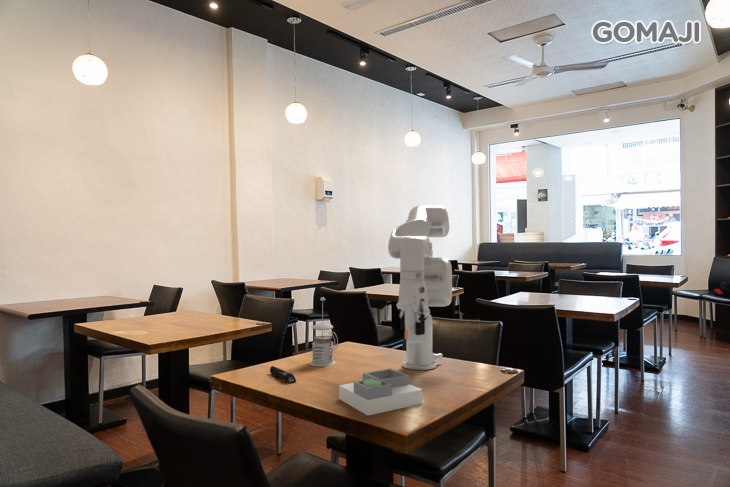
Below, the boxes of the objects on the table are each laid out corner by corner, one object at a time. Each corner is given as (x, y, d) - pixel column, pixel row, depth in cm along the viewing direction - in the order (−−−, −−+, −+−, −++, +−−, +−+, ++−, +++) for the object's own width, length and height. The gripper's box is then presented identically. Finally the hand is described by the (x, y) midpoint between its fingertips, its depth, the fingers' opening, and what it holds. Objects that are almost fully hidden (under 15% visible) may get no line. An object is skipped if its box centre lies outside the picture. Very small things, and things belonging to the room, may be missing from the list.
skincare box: (404, 339, 156) (404, 301, 155) (417, 338, 156) (417, 301, 156) (407, 343, 150) (407, 304, 149) (421, 343, 150) (421, 304, 150)
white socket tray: (390, 389, 150) (390, 366, 150) (422, 403, 137) (422, 378, 137) (339, 399, 141) (339, 374, 141) (367, 415, 127) (367, 389, 127)
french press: (321, 358, 190) (321, 295, 190) (344, 363, 184) (344, 297, 184) (304, 364, 182) (304, 297, 183) (327, 368, 176) (327, 299, 176)
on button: (375, 388, 136) (375, 378, 136) (385, 392, 132) (385, 383, 132) (360, 391, 134) (360, 381, 134) (369, 395, 129) (369, 385, 129)
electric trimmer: (277, 373, 171) (277, 364, 171) (297, 383, 158) (297, 373, 158) (267, 375, 169) (267, 366, 169) (286, 385, 156) (286, 375, 156)
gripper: (439, 277, 147) (439, 336, 147) (405, 273, 162) (406, 326, 162) (419, 279, 143) (419, 339, 143) (386, 274, 158) (387, 329, 158)
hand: (412, 331), depth 153 cm, fingers closed on skincare box, 7 cm apart
